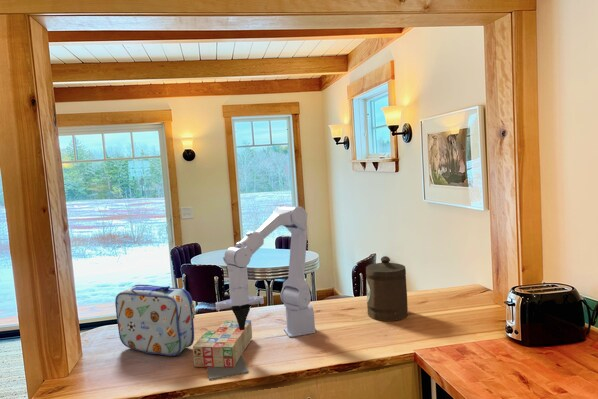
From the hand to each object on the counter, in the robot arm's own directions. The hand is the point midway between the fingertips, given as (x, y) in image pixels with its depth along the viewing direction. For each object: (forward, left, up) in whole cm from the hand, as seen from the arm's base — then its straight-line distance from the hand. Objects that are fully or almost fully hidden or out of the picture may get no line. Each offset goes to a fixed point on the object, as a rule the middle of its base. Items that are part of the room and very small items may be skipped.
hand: (241, 328), depth 136 cm
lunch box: (+25, -16, -9) cm, 31 cm away
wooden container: (-57, -13, -9) cm, 59 cm away
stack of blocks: (-1, -1, -5) cm, 5 cm away
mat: (+6, 0, -8) cm, 10 cm away
